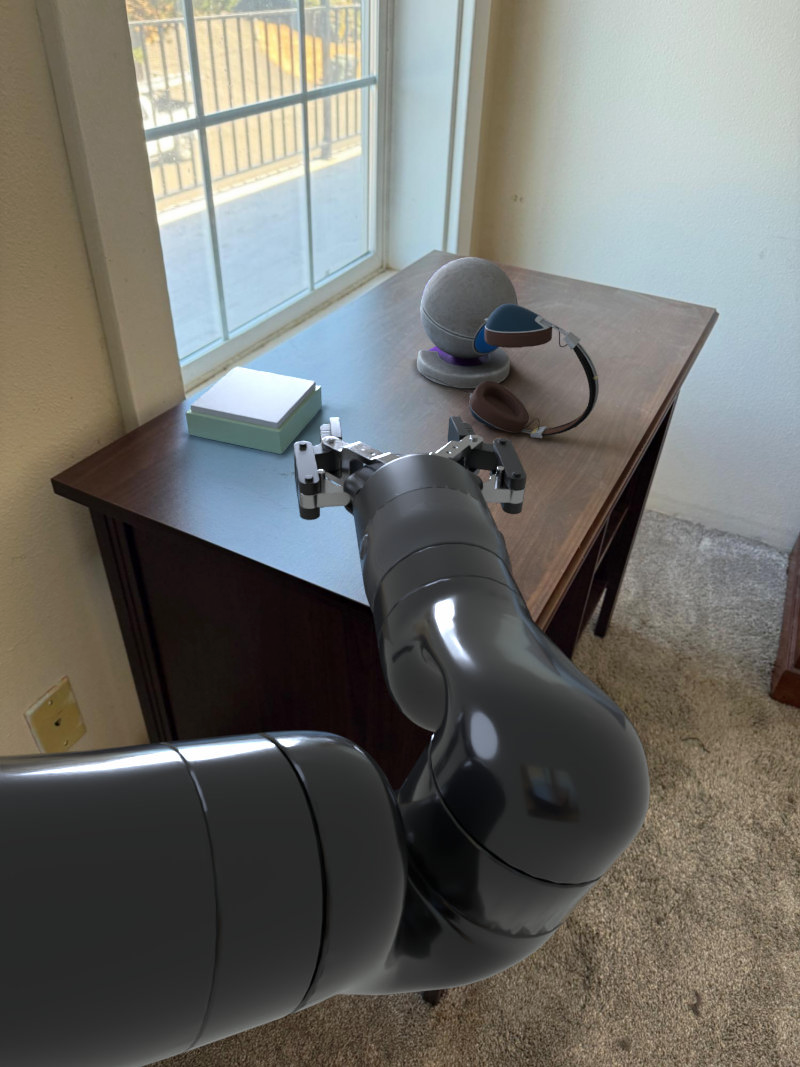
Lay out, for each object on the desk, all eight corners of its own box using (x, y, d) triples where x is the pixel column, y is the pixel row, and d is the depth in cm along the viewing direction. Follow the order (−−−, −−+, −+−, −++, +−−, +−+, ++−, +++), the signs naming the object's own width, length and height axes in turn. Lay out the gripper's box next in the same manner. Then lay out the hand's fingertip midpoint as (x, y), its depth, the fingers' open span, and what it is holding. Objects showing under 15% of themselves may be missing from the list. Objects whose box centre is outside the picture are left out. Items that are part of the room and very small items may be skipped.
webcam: (473, 341, 112) (483, 239, 103) (528, 375, 104) (545, 267, 94) (400, 359, 106) (404, 252, 97) (452, 397, 98) (462, 284, 89)
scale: (185, 434, 88) (181, 405, 86) (234, 390, 97) (231, 363, 95) (281, 454, 85) (279, 425, 83) (322, 407, 94) (321, 380, 92)
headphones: (405, 404, 94) (569, 468, 87) (422, 288, 84) (609, 350, 78) (427, 385, 98) (585, 444, 92) (446, 272, 88) (624, 330, 82)
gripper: (297, 614, 40) (295, 478, 54) (550, 604, 42) (486, 474, 56) (292, 493, 37) (292, 378, 50) (571, 487, 38) (497, 378, 52)
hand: (394, 429), depth 53 cm, fingers open, 8 cm apart
